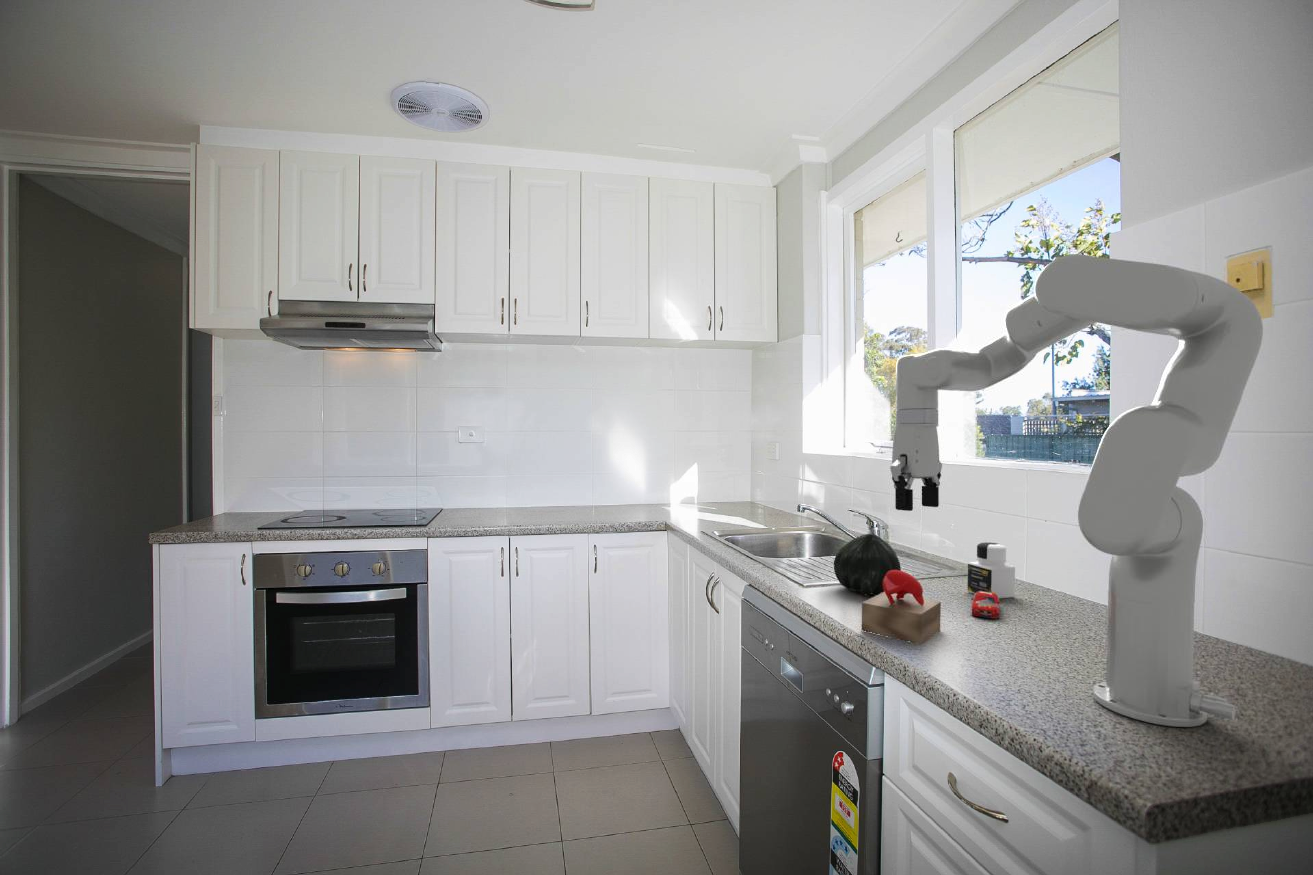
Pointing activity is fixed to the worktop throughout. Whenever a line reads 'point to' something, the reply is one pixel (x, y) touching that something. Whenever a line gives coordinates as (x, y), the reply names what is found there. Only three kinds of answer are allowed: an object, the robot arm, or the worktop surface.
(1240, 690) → the worktop surface
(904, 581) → the red rounded piece
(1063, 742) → the worktop surface
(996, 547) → the medicine bottle
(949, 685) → the worktop surface
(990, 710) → the worktop surface
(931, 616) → the walnut block
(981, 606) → the race car
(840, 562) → the squash
